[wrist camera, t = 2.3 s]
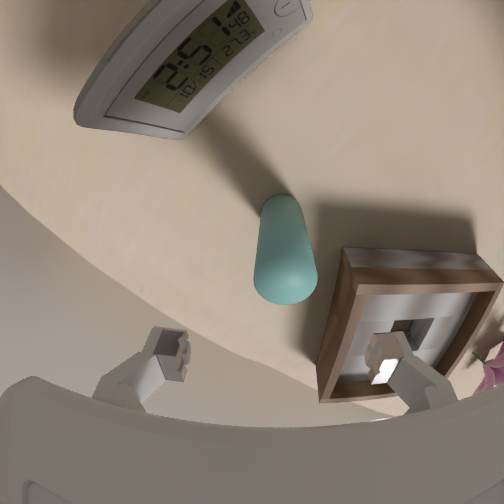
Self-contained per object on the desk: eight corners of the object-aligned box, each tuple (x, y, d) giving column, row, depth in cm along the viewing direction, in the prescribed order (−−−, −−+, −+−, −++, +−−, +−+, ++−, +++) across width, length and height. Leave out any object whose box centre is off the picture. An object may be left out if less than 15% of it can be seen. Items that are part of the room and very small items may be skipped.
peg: (303, 195, 23) (321, 253, 14) (300, 233, 25) (313, 305, 16) (261, 193, 23) (253, 250, 15) (260, 231, 25) (253, 303, 16)
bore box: (477, 253, 24) (504, 282, 19) (427, 357, 33) (439, 387, 28) (342, 247, 25) (358, 284, 20) (315, 366, 34) (319, 403, 29)
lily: (454, 377, 38) (483, 404, 30) (451, 378, 31) (486, 412, 23) (490, 328, 36) (519, 353, 29) (494, 317, 29) (532, 348, 22)
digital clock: (173, 148, 22) (107, 180, 13) (119, 76, 18) (36, 72, 9) (336, 47, 17) (383, 6, 7) (272, -27, 13) (270, -97, 4)
